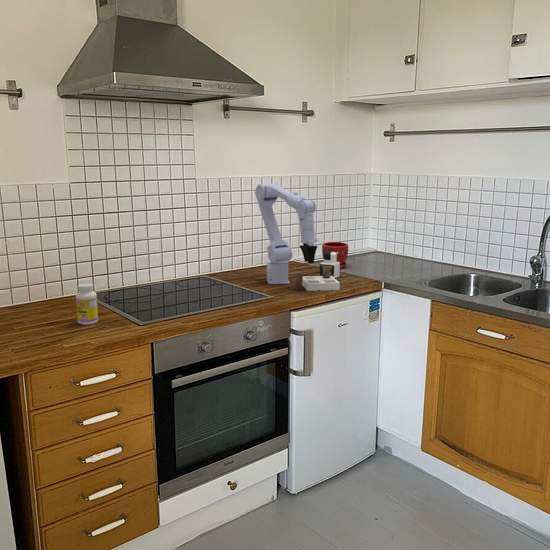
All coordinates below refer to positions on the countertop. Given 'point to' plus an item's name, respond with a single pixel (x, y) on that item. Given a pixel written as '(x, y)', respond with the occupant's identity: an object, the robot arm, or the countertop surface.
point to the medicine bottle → (330, 264)
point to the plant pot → (337, 247)
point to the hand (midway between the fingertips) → (309, 262)
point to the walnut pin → (298, 281)
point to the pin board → (321, 281)
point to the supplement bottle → (86, 305)
